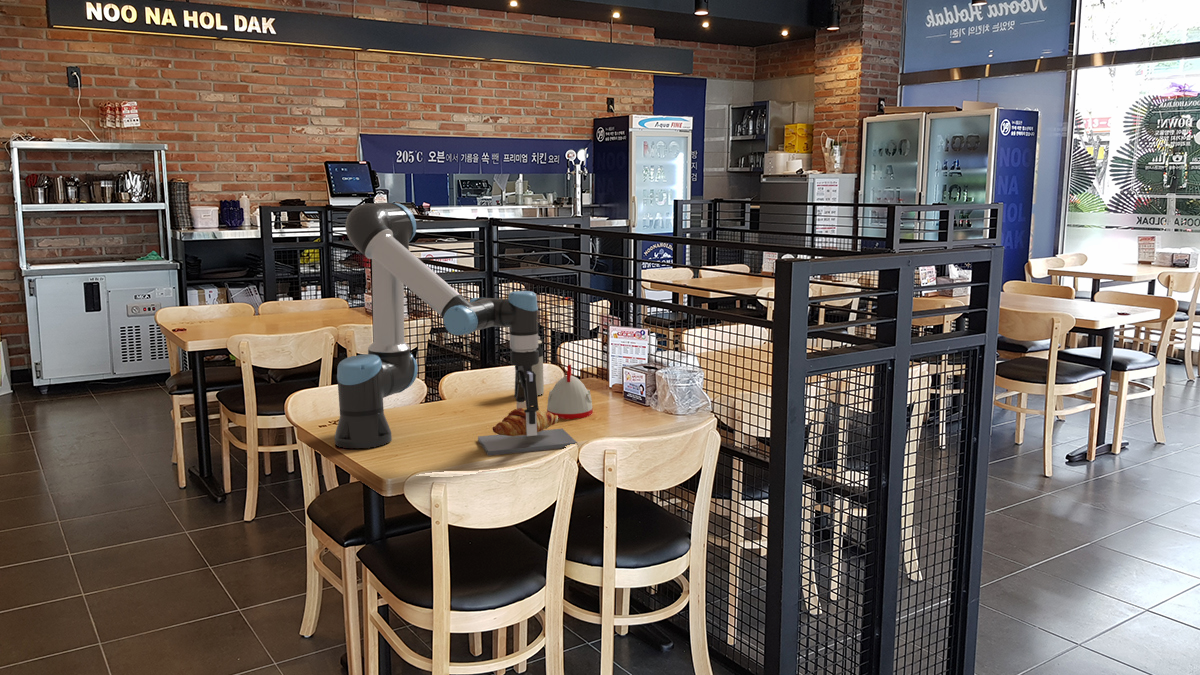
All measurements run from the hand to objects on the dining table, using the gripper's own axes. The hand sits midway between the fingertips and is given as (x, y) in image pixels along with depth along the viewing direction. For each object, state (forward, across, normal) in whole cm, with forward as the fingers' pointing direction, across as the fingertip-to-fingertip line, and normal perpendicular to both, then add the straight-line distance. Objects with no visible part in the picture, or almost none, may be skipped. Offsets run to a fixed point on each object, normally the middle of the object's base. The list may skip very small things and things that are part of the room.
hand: (526, 430), depth 247 cm
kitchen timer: (+4, +28, -20) cm, 35 cm away
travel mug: (+4, +57, -15) cm, 59 cm away
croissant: (+1, 0, 0) cm, 1 cm away
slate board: (+4, 0, 0) cm, 4 cm away
